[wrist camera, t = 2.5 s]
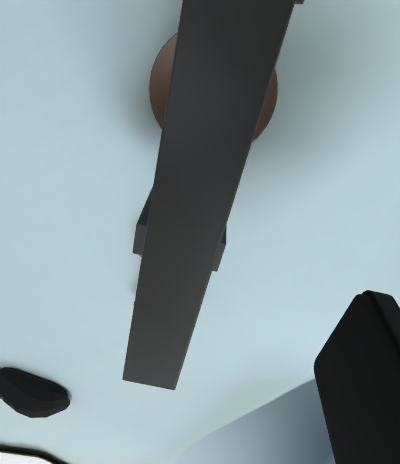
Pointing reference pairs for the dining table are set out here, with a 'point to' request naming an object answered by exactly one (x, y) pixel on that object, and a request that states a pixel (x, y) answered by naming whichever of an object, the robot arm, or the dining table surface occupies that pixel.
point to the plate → (21, 458)
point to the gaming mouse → (31, 394)
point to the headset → (198, 171)
